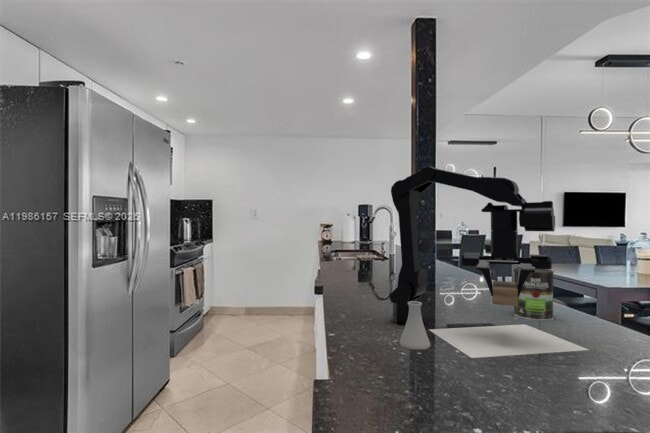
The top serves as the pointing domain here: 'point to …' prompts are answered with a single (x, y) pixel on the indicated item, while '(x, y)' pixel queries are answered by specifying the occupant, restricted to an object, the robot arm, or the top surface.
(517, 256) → the robot arm
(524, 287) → the coffee can
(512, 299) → the brown wooden block
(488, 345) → the white rectangular board
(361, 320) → the top surface
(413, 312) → the flask
